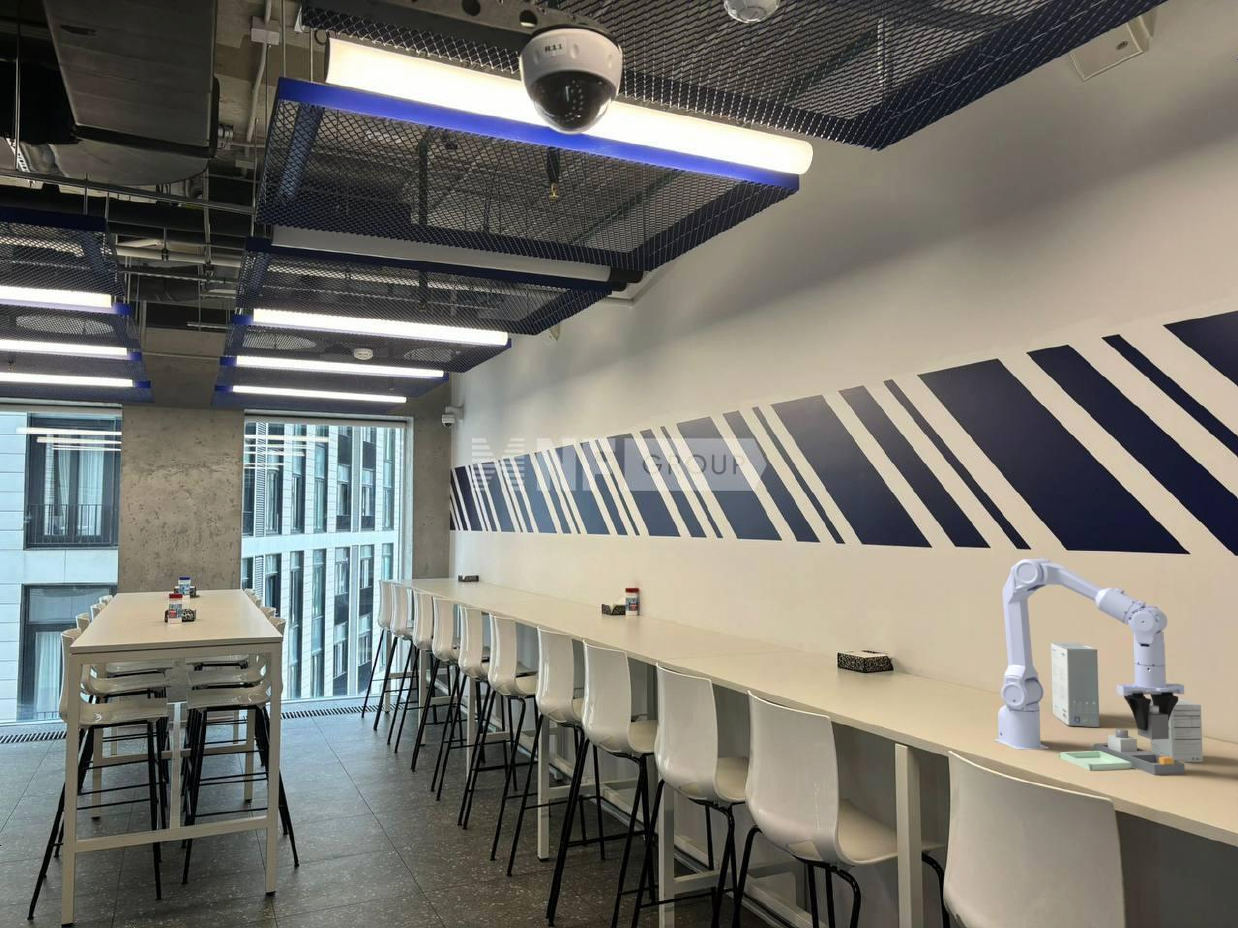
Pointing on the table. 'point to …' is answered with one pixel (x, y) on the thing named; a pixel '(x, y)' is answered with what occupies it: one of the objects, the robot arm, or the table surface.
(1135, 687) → the robot arm
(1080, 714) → the hard drive box
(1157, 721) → the plug
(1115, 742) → the twin plug
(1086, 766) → the tray
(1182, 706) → the supplement box
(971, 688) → the table surface
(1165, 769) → the power strip
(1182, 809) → the table surface
